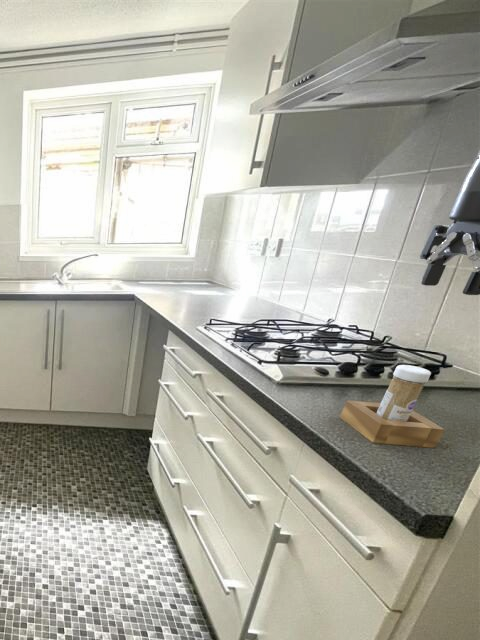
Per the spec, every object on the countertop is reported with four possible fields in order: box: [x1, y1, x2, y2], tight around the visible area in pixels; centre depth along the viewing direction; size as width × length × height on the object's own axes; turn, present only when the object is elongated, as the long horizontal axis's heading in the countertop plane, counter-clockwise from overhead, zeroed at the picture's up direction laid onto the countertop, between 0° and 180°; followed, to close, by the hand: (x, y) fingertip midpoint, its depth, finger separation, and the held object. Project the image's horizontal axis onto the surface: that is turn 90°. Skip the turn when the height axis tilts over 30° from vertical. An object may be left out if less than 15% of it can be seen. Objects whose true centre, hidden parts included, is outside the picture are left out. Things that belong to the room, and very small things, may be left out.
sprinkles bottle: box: [376, 364, 432, 422], centre depth 79 cm, size 5×5×14 cm
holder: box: [339, 400, 446, 449], centre depth 81 cm, size 10×10×4 cm
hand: (448, 289), depth 74 cm, fingers open, 8 cm apart
